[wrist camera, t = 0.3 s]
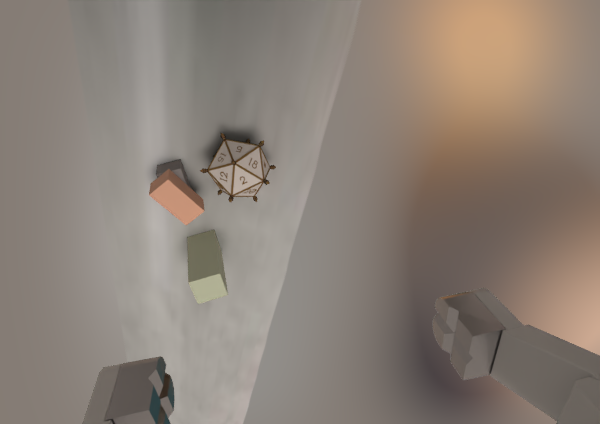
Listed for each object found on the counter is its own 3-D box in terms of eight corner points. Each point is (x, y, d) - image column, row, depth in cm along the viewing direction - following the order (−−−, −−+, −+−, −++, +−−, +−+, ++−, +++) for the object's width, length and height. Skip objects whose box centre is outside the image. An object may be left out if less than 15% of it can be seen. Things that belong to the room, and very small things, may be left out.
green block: (187, 237, 54) (188, 282, 46) (214, 229, 54) (219, 273, 46) (195, 257, 56) (198, 304, 48) (221, 249, 57) (227, 294, 49)
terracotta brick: (150, 183, 45) (149, 195, 43) (168, 168, 45) (168, 179, 42) (186, 213, 49) (186, 225, 46) (203, 199, 48) (204, 211, 46)
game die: (246, 141, 53) (300, 166, 48) (217, 193, 52) (269, 223, 48) (207, 111, 45) (269, 136, 40) (173, 171, 44) (231, 204, 40)
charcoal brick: (157, 164, 47) (156, 174, 45) (180, 158, 48) (180, 168, 45) (173, 203, 51) (173, 214, 48) (194, 197, 51) (195, 208, 49)
